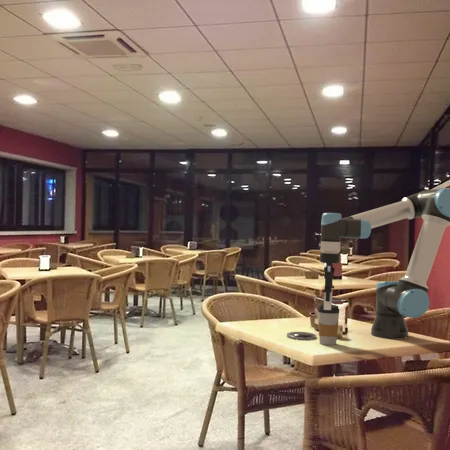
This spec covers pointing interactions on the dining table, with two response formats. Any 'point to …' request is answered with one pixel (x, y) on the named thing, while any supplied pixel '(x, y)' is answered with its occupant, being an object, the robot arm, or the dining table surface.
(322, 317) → the coffee cup
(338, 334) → the brass coupling
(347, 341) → the dining table surface
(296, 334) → the flange plate
